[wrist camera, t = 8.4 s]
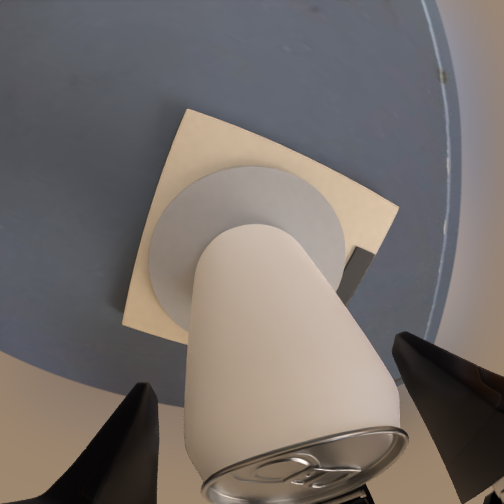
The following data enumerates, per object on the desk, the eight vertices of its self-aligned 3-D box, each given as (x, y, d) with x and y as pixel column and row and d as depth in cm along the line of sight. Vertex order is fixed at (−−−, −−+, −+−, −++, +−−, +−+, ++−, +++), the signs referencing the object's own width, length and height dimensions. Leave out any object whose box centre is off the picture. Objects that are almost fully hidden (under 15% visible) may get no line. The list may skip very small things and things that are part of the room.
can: (251, 195, 14) (355, 382, 4) (327, 269, 17) (444, 435, 6) (171, 280, 16) (136, 493, 5) (252, 337, 18) (292, 516, 7)
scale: (300, 359, 22) (305, 375, 20) (125, 314, 18) (119, 330, 17) (390, 202, 18) (405, 210, 16) (188, 110, 14) (185, 107, 12)
